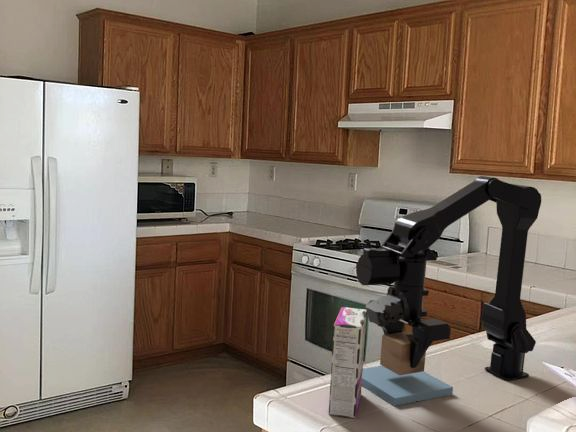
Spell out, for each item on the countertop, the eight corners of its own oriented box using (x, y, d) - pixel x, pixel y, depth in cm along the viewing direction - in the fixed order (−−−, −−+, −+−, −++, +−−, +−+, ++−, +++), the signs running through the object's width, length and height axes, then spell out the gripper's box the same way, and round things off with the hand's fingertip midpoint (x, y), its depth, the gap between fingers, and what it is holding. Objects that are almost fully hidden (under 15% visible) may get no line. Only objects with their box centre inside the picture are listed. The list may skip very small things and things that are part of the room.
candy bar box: (334, 390, 120) (341, 305, 117) (361, 394, 119) (368, 308, 117) (326, 415, 109) (332, 322, 107) (355, 419, 108) (362, 326, 106)
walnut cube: (404, 360, 127) (406, 331, 126) (424, 371, 122) (426, 341, 121) (379, 364, 124) (382, 334, 123) (399, 375, 119) (402, 344, 118)
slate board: (405, 368, 133) (405, 361, 133) (452, 394, 121) (453, 387, 121) (349, 377, 126) (350, 370, 126) (394, 406, 114) (394, 398, 114)
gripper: (346, 274, 125) (341, 350, 127) (407, 299, 109) (400, 386, 111) (391, 271, 130) (385, 344, 133) (456, 294, 114) (448, 377, 116)
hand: (402, 361), depth 123 cm, fingers closed on walnut cube, 6 cm apart
